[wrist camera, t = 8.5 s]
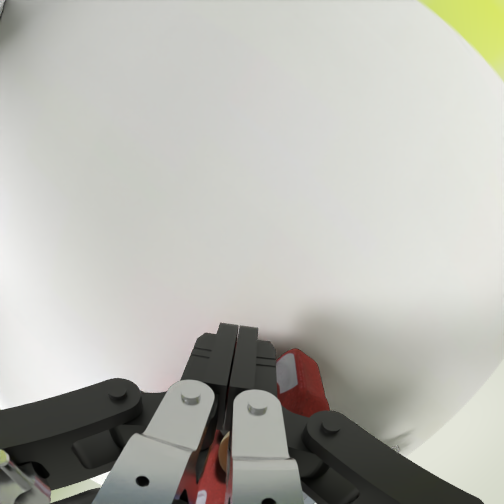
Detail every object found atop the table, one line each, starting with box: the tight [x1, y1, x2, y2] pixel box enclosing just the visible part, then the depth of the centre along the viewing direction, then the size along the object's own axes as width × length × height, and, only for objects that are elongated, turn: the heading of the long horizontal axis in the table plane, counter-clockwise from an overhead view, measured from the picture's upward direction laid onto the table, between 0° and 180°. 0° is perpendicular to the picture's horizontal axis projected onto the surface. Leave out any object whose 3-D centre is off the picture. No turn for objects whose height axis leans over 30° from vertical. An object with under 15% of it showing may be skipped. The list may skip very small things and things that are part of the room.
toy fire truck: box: [196, 343, 330, 504], centre depth 10 cm, size 7×12×10 cm, turn 140°
